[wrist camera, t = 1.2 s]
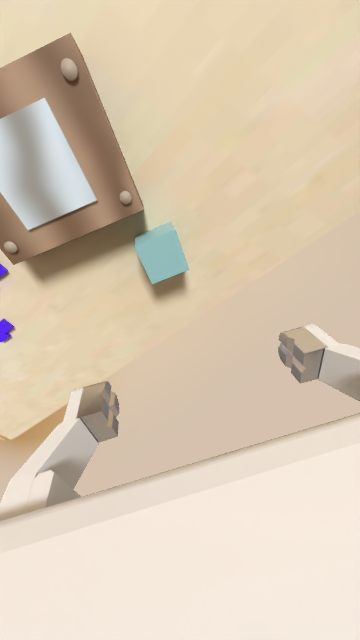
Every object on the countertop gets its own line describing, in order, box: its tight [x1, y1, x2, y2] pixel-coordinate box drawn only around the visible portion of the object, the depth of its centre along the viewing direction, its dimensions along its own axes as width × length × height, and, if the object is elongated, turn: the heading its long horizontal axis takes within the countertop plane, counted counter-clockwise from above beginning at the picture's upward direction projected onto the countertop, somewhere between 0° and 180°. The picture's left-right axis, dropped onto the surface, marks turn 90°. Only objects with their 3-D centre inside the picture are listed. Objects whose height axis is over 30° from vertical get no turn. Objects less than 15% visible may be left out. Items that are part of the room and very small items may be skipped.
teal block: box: [134, 222, 189, 284], centre depth 29 cm, size 5×5×5 cm
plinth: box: [0, 33, 143, 265], centre depth 23 cm, size 16×13×4 cm
